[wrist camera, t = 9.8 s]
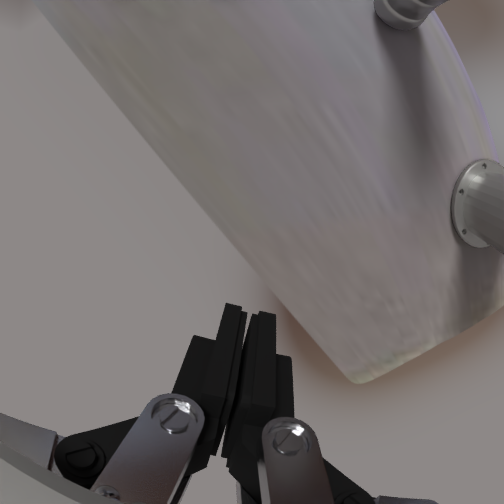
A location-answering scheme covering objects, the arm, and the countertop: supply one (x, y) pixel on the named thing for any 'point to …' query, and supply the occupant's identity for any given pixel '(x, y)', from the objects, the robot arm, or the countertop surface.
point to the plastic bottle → (405, 12)
